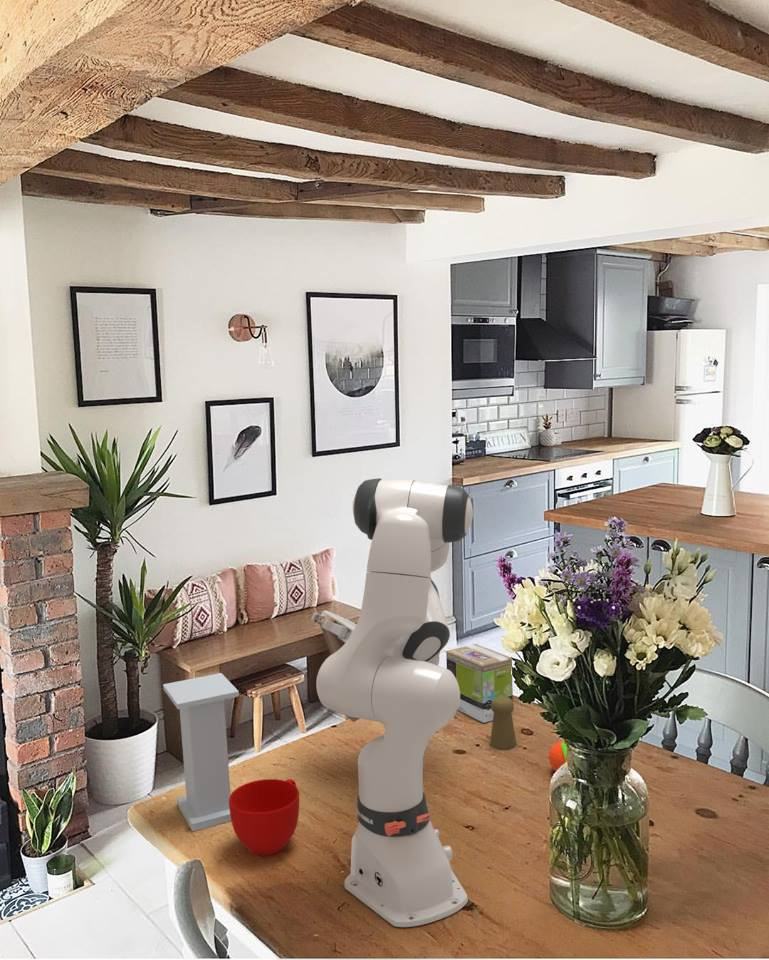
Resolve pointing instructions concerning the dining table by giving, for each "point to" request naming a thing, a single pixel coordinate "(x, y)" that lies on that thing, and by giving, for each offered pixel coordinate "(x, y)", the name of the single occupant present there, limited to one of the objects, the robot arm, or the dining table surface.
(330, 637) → the handled block
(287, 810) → the ceramic cup
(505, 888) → the dining table surface
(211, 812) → the painted stand
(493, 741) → the brown pawn
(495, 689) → the tea box
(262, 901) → the dining table surface
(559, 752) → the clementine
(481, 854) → the dining table surface
